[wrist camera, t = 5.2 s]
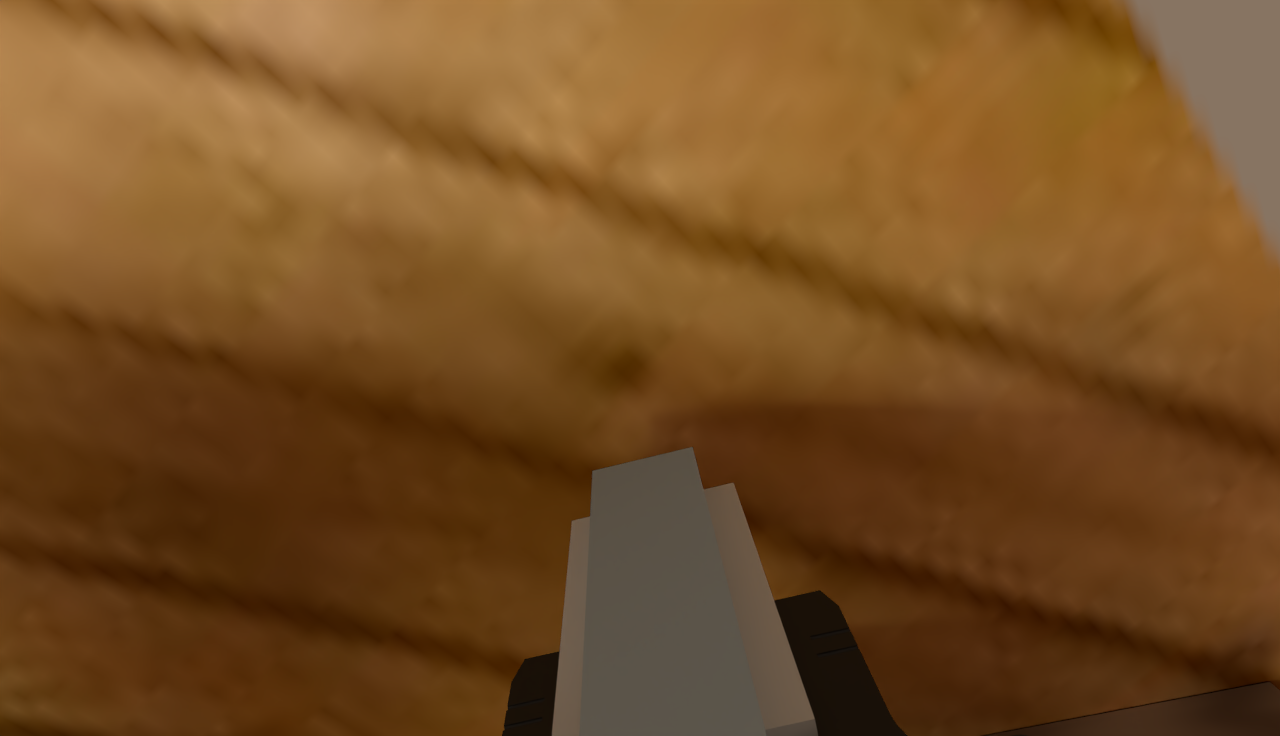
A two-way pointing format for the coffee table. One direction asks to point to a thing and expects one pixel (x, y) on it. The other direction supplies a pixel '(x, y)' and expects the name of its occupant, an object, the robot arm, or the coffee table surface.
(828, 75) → the coffee table surface
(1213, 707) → the base plank
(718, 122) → the coffee table surface
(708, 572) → the cross plank
